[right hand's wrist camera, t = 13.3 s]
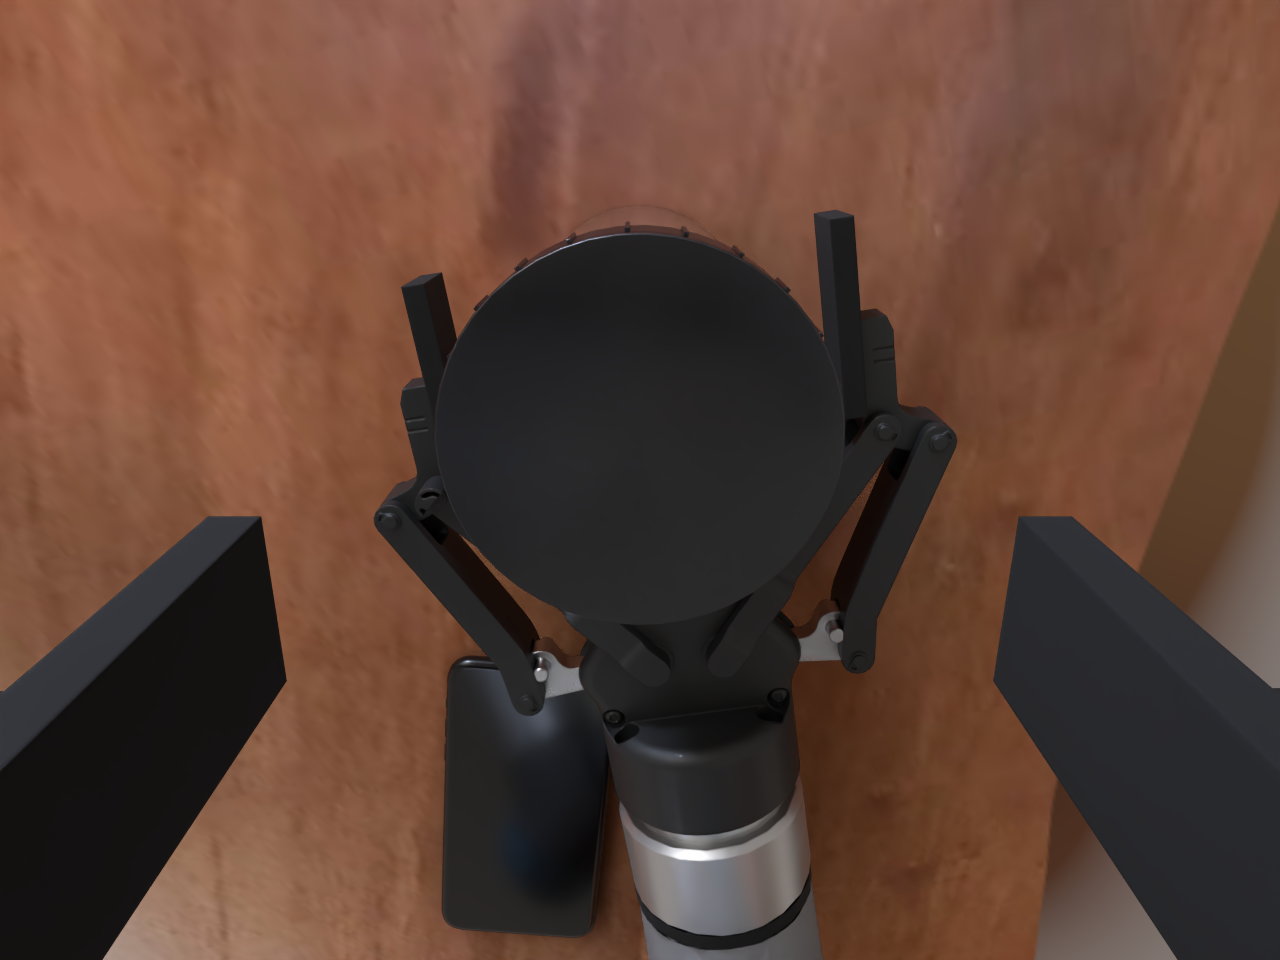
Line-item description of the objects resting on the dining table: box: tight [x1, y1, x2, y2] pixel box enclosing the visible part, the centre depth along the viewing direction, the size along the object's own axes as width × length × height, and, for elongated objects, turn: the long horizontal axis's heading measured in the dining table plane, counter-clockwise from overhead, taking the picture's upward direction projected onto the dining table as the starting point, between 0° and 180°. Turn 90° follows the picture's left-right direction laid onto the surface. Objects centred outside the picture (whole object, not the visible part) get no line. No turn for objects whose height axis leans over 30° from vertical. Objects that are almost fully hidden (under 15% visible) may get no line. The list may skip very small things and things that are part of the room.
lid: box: [435, 222, 845, 625], centre depth 21 cm, size 9×9×2 cm
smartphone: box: [442, 656, 611, 938], centre depth 44 cm, size 8×1×16 cm
